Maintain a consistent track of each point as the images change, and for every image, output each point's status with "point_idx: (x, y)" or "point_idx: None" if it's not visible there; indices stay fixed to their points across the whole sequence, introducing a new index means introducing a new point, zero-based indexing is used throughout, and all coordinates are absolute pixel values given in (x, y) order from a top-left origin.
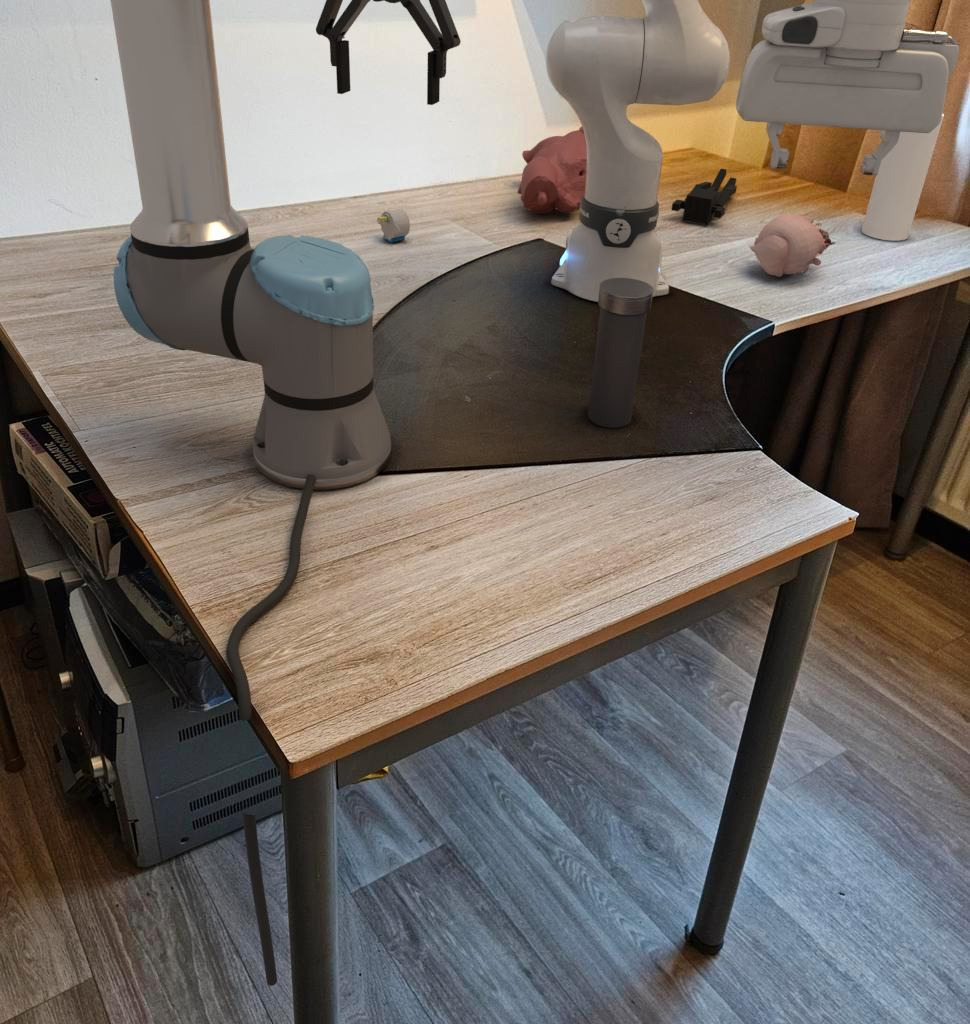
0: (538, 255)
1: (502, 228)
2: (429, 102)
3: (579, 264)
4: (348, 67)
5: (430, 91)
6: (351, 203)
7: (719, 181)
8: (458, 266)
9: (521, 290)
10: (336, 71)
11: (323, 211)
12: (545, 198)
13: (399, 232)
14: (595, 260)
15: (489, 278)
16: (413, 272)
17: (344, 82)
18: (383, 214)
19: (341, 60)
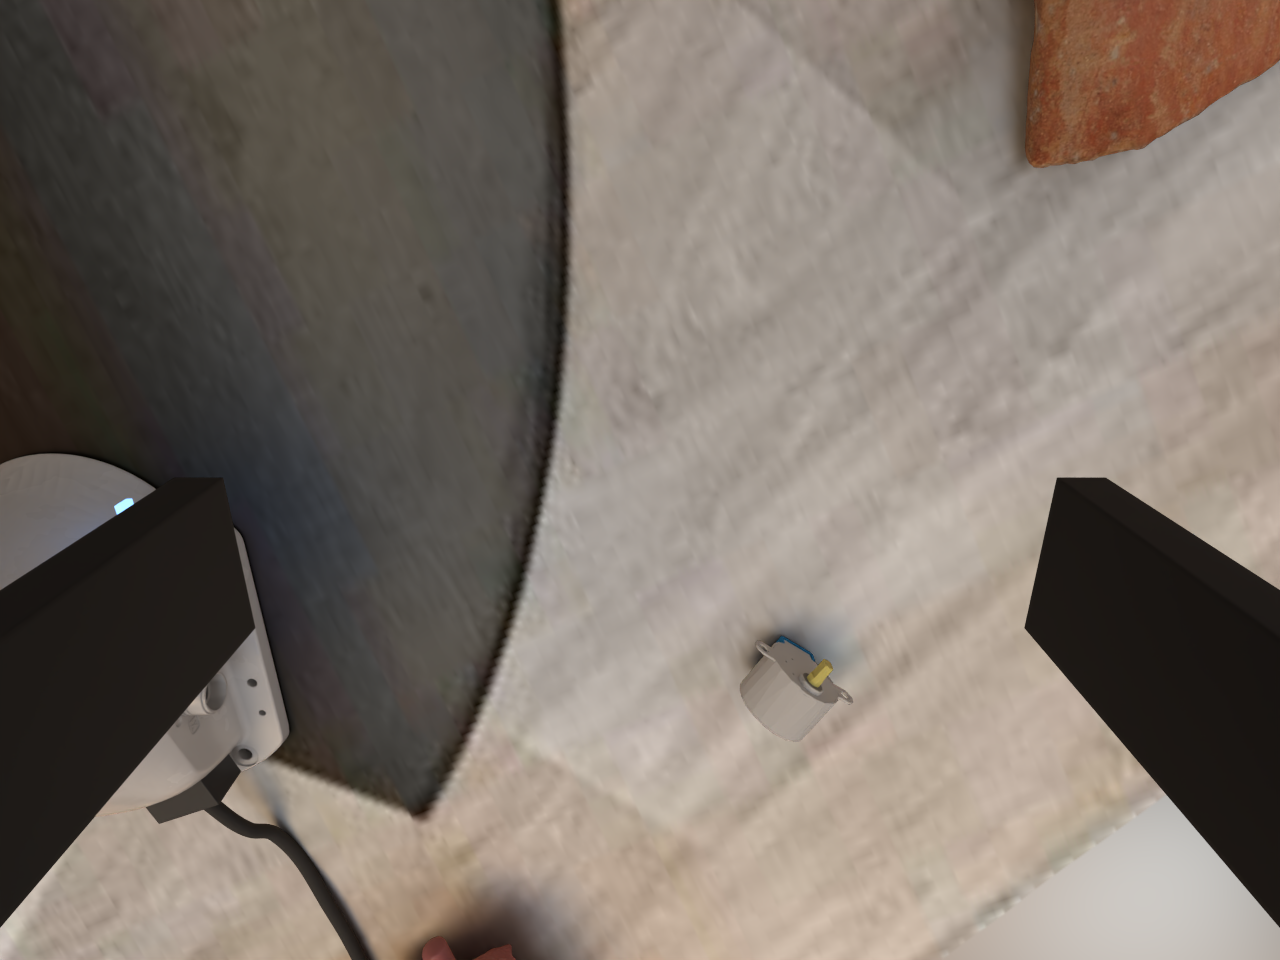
0: (372, 712)
1: (544, 846)
2: (189, 482)
3: (86, 530)
4: (1144, 735)
5: (122, 524)
6: (1000, 859)
7: None
8: (533, 552)
9: (292, 457)
10: (1240, 565)
11: (1057, 779)
12: (423, 956)
13: (761, 658)
14: (5, 524)
15: (414, 504)
16: (632, 455)
17: (1093, 568)
18: (829, 700)
19: (1266, 651)
